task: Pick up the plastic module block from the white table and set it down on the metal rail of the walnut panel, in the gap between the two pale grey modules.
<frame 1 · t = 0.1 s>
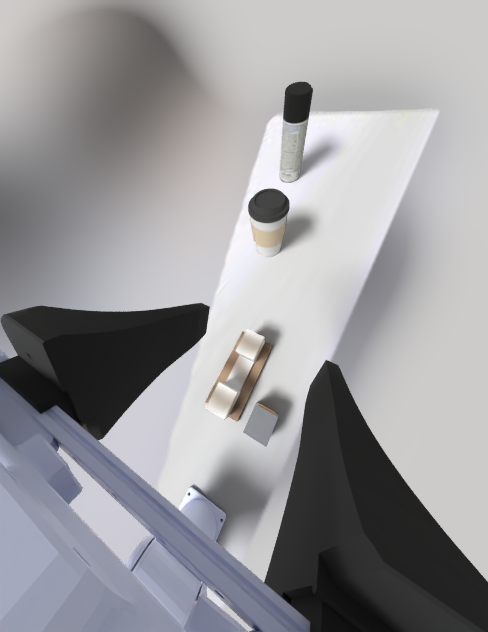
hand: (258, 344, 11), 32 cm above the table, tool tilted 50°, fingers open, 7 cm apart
rail panel: (240, 373, 41), on the table
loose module: (261, 419, 37), on the table
coffee cup: (268, 248, 53), on the table
spray can: (289, 177, 63), on the table
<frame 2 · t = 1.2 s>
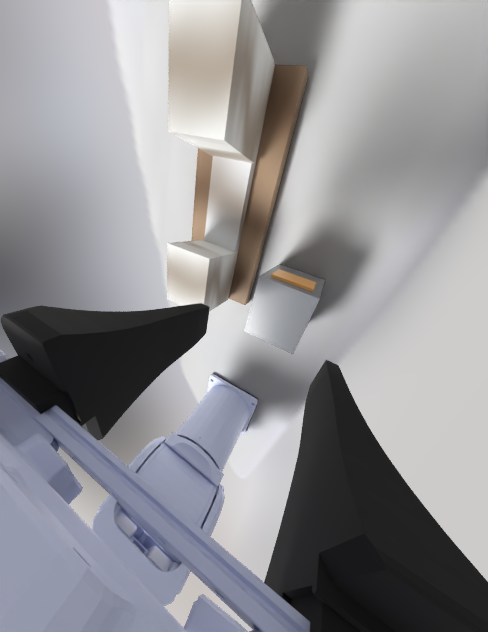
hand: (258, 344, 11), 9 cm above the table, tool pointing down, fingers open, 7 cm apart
rail panel: (233, 208, 17), on the table
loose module: (292, 295, 18), on the table
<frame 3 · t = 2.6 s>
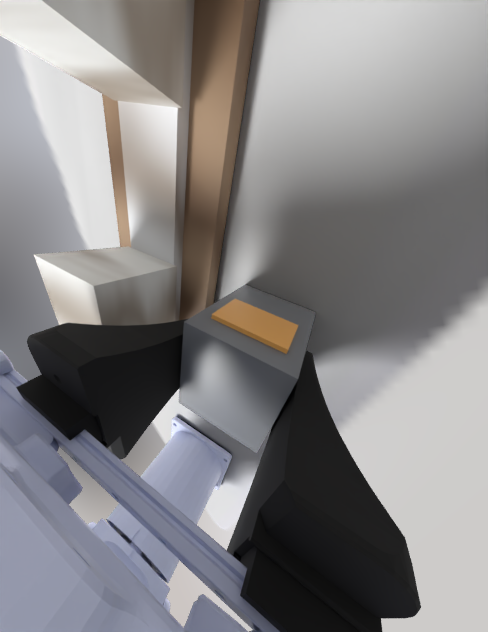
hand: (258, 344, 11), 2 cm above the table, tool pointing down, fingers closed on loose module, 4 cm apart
rail panel: (173, 197, 11), on the table
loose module: (266, 331, 12), on the table, touching gripper
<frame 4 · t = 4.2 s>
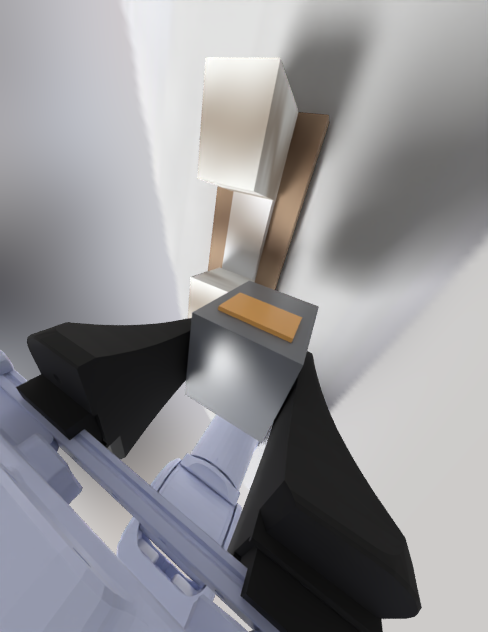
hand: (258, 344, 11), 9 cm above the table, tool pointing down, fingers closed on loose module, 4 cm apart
rail panel: (251, 237, 18), on the table
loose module: (270, 326, 12), point 7 cm above the table, touching gripper
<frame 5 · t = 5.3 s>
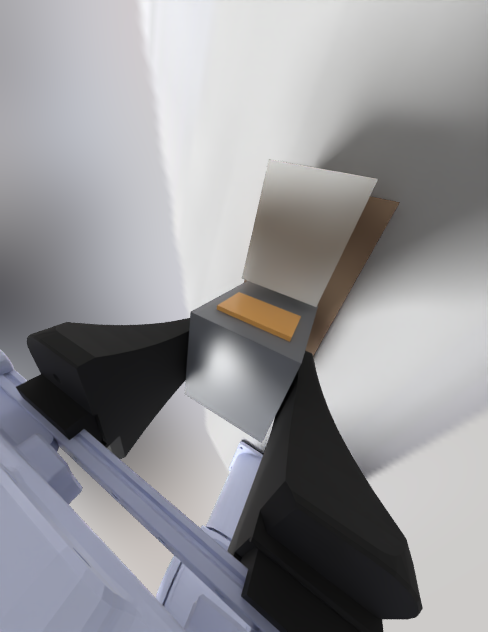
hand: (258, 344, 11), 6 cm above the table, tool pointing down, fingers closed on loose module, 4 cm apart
rail panel: (284, 306, 16), on the table
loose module: (269, 326, 12), point 4 cm above the table, touching gripper
when the fingers open (5 cm above the table, at t = 6.2 s): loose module stays where it is, resting on rail panel.
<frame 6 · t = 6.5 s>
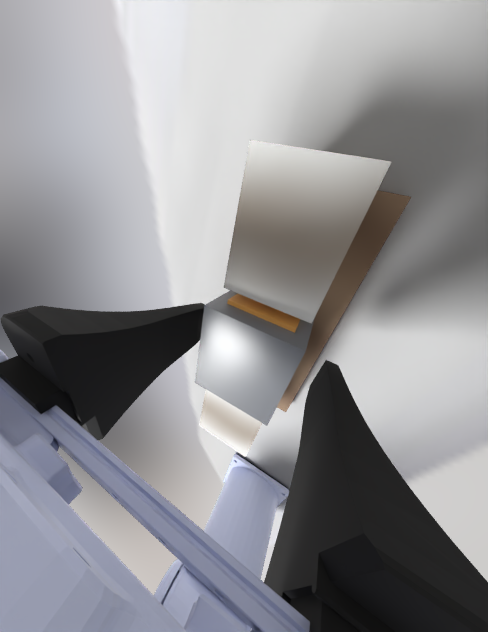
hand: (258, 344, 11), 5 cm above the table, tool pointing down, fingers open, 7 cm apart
rail panel: (279, 314, 14), on the table
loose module: (273, 321, 13), point 2 cm above the table, touching rail panel
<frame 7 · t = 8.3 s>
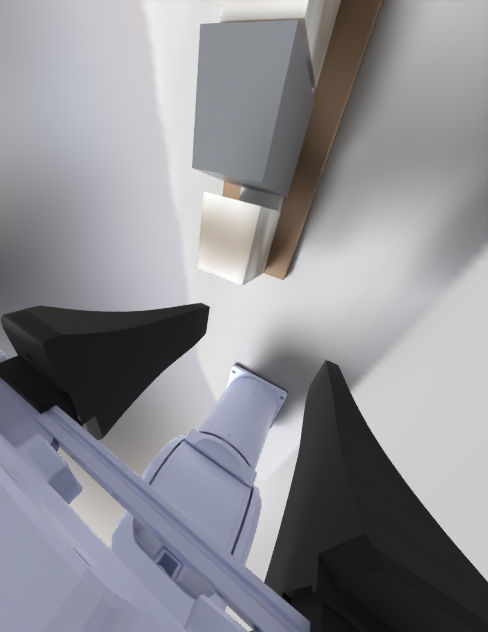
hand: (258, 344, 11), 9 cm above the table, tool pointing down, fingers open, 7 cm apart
rail panel: (276, 160, 15), on the table
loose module: (269, 150, 13), point 2 cm above the table, touching rail panel
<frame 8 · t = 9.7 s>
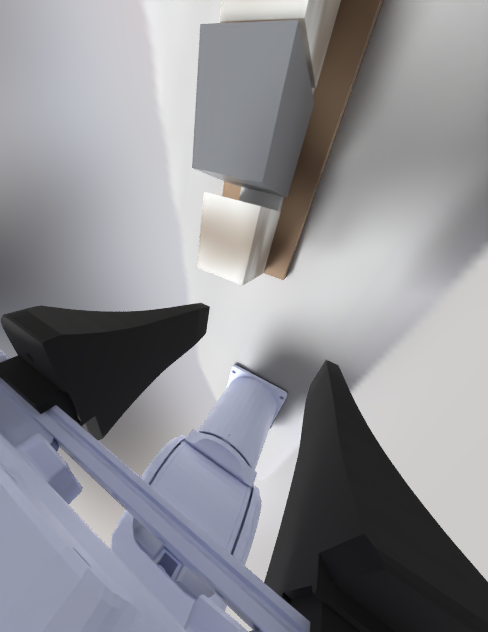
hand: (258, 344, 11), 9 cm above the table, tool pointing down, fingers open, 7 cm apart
rail panel: (276, 160, 15), on the table
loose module: (269, 150, 13), point 2 cm above the table, touching rail panel
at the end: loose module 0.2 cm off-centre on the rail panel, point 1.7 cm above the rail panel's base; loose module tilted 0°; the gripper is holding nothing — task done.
